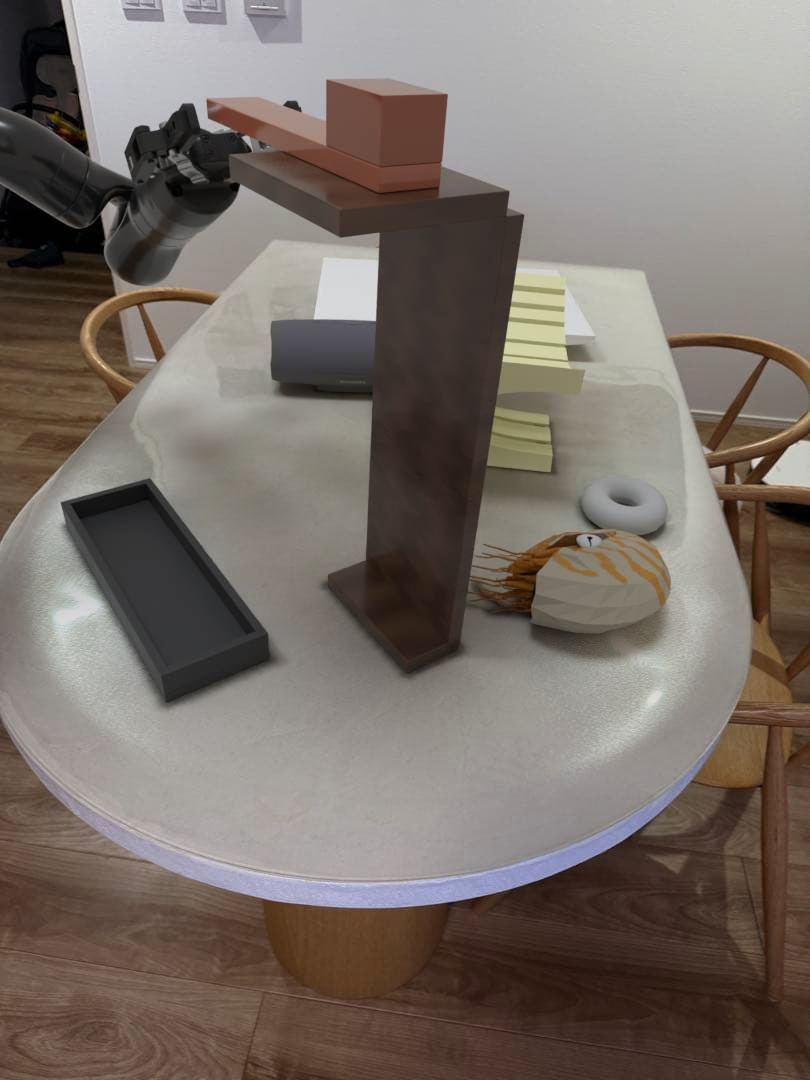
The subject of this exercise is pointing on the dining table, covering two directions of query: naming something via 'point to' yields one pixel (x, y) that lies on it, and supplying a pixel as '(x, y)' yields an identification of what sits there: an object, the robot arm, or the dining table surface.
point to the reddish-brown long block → (353, 131)
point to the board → (355, 296)
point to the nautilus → (584, 580)
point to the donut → (637, 517)
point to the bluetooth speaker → (324, 353)
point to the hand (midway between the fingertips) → (247, 115)
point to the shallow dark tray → (164, 588)
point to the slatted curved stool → (532, 372)
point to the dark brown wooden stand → (418, 384)
